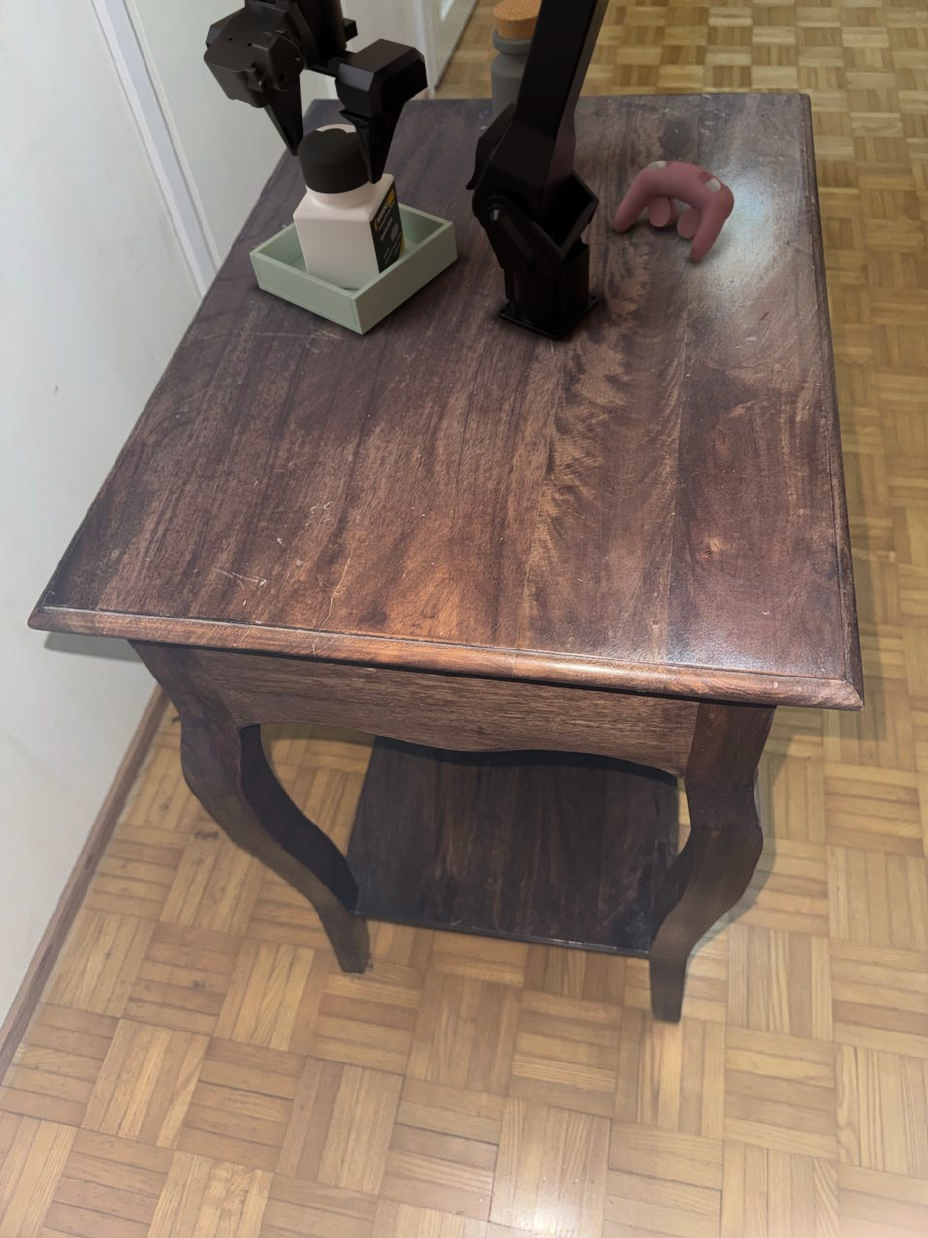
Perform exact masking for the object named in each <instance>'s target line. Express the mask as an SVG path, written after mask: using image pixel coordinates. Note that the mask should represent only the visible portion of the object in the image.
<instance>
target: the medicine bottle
mask: <svg viewBox="0 0 928 1238" xmlns="http://www.w3.org/2000/svg"><path fill="white" fill-rule="evenodd" d="M297 157H298V160H299V164H300V167H301V173H302V175H303V180H304V184H305V189H306V193H305V194H304V196H303V198H302V199H301V201H300V203H299V205H298V206H297V208H296V209H295V211H294V213H292V214H293V220H294V221H293V222H295V225H296V229H297V233H298V236H299V240H300V244H301V248H302V252H303V255H304V259H305V263H306V267H307V271H308V274H310V275H312V276H315V277H317V278H319V279H322V280H324V281H326V282H329V283H331V284H333V285H335V286H338V287H340V288H346V289H361V288H362V287H364V286H365V285H366V284H368V283H369V282H370V281H372V280H373V279H374V278H375V277H377V276H378V275H379V274H381V273H382V272H383V271H385V270H386V269H387V268H388V267H390V266H391V265H392V264H394V263H395V262H396V261H398V260H399V258H400V256H401V254H402V252H403V250H404V248H405V242H404V236H403V230H402V224H401V218H400V212H399V205H398V203H399V199H398V194H397V187H396V181H395V176H394V175H393V174H391V173H383V175H382V178H381V180H380V181H379V182H377V183H376V184H371V183H370V182H369V179H368V176H367V173H366V171H365V167H364V163H363V159H362V155H361V151H360V146H359V142H358V138H357V134H356V130H355V126H354V125H353V124H345V123H334V124H326V125H323V126H321V127H318V128H316V129H314V130H312V131H310V132H309V133H307V134H306V135H305V136H303V139H302V140H301V142H300V144H299V146H298V155H297Z"/></svg>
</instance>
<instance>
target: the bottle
mask: <svg viewBox="0 0 928 1238" xmlns="http://www.w3.org/2000/svg"><path fill="white" fill-rule="evenodd" d="M540 4H541V0H503V1H501V2H499V3H498V4H496V5H495V6H494V7H493V10H492V14H493V18H494V22H495V26H496V27H495V28H494V30H493V31H492V33H491V35H492V46H493V47H494V49H495V50H496V51H498V52H499V53H498V54H497V55H496V56H495V57H494V58H493V59H492V61H491V63H490V83H491V84H490V85H491V99H492V100H491V101H492V113H493V114H492V115H493V117H492V118H493V120H494V119H495V118H496V117H497V116H498V115H499V113H500V112H501V111H502V110H503V109H504V107H505V106H506V105H507V104H508V103H509V102H510V101H511V102H512V103H514V104H515V103H516V99H517V95H518V91H519V87H520V83H521V79H522V75H523V71H524V68H525V64H526V60H527V56H528V52H529V48H530V44H531V40H532V36H533V32H534V28H535V24H536V20H537V16H538V12H539V8H540Z"/></svg>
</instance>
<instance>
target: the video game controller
mask: <svg viewBox="0 0 928 1238" xmlns="http://www.w3.org/2000/svg"><path fill="white" fill-rule="evenodd" d="M675 200H678V201H680V202H682V203H685V204H687V205H689V206H690V207H689V208H687V209H686V210H684V211H683V213H680V214H681V215H680V216H679V217H678V220H677V222H676V223H677V224H676V229H677V232H678V233H679V235H680V236H681V237H683V238H685V239H689V240H690V239H692V241H691V242H690V243H691V244H690V248H689V259H690V261H692V262H693V263H697V262H700V261H701V260H702V259H704V257H706V256H707V255H708V253H709V252H710V251H711V249H712V248H713V246H714V245H715V243H716V242H717V240H718V238H719V236H720V234H721V231H722V229H723V228H724V224H725V222H726V221H727V219H728V218H729V217H730V216H731V214H732V212H733V210H734V206H735V196H734V193H733V192H732V189H731V188H730V187H729V186H728V185H727V184H725V183H723V182H722V181H721V180H720V179H719V177H717V176H716V175H714V173H712V172H711V171H709V170H707V169H705V168H703V167H701V166H699V165H697V164H695V163H690V162H685V161H678V160H658V161H657V160H656V161H654V162H652V161H651V162H650V163H649V164H648V165H647V166H646V167H644V168H643V169H641V171H639V173H638V174H637V175H636V177H635V178H634V180H633V182H632V184H631V185H630V187H629V188H628V190H627V192H626V194H625V195H624V197H623V198H622V200H621V202H620V204H619V205H618V208H617V209H616V212H615V215H614V220H613V227H614V231H616V232H617V233H622V232H624V231H626V230H628V229H629V228H630V227H631V226H632V224H634V223H635V222H636V221H637V219H638V218H639V217H640V215H641V214H642V213H643V212H644V210H645V209H646V207H647V209H648V219H649V222H650V224H651V225H652V226H654V227H657V228H666V227H669V226H671V225H672V224H673V223H674V221H675V219H676V217H677V207H676V203H675Z"/></svg>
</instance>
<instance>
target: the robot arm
mask: <svg viewBox="0 0 928 1238" xmlns="http://www.w3.org/2000/svg"><path fill="white" fill-rule="evenodd" d="M243 3H244V6H243V7H241V8H239V9H238V10H236V11H234V12H232V13H230V14H228V15H226V16H224V17H222V18H221V19H219V20H218V21H216V22H213V23H211V24H210V25H209V27H208V32H207V34H206V35H207V36H206V40H205V43H204V44H205V46H206V51H204V54H203V61H204V63H205V65H206V66H207V68H208V70H209V71H210V73H211V74H212V76H213V78H214V79H215V80H216V82H217V83H218V85H219V87H220V89H221V90H222V91H223V93H224V95H225V96H226V97H227V99H229V100H232V101H235V100H237V101H239V102H243V103H244V104H245V103H246V104H248V105H249V106H251V107H252V108H254V109H263V110H264V111H265V113H266V114H267V116H268V118H269V120H270V121H271V124H273V126H274V128H275V129H276V131H277V133H278V135H279V136H280V138H281V140H282V142H283V144H284V145H285V147H286V148H287V150H288V152H289V153H290V155H291V156H293V157H298V146H299V144H300V142H301V140H302V139H303V138H304V118H303V104H302V103H303V102H302V90H301V87H302V86H301V74H302V73H303V71H309V72H313V73H316V74H320V75H324V76H327V77H330V78H334V82H333V83H334V86H335V87H334V88H335V93H336V97H337V98H338V100H339V101H340V103H341V104H342V105H343V107H344V108H343V109H341V110H339V111H338V114H339V115H340V116H341V117H343V119H346V120H347V121H348V122H350V123H351V125H352V126H355V130H356V134H357V138H358V142H359V146H360V151H361V155H362V159H363V163H364V167H365V171H366V173H367V176H368V179H369V182H370V183H371V184H376V183H377V182H379V181H380V180H381V178H382V175H383V174H384V171H385V169H386V168H385V167H386V164H387V161H388V157H389V154H390V149H391V145H392V142H393V139H394V134H395V132H396V128H397V125H398V122H399V119H400V117H401V115H402V112H403V109H404V106H405V105H406V103H408V102H409V101H410V100H412V99H413V98H414V97H416V96H417V95H418V94H419V93H421V92H423V91H424V90H425V89H428V88H429V82H428V73H427V65H426V58H425V55H424V54H423V53H421V51H420V50H419V49H417V48H416V47H415V46H411V45H407V44H403V43H400V42H397V41H394V40H393V41H392V40H388V39H385V38H378V39H377V40H375V41H373V42H372V43H369V44H368V45H367V46H365V47H364V48H362V49H360V50H359V51H357V52H355V51H351V50H348V49H347V48H348V45H347V42H349V41H351V40H353V39H354V38H356V37H358V36H359V32H358V27H357V21H356V20H355V19H352V18H347V17H344V13H343V7H342V4H341V0H244V1H243ZM609 3H610V0H541V4H540V8H539V12H538V16H537V20H536V24H535V28H534V32H533V36H532V40H531V44H530V48H529V52H528V56H527V60H526V64H525V68H524V71H523V75H522V79H521V83H520V87H519V91H518V95H517V99H516V103H515V104H514V103H512V102H511V101H510V102H509V103H508V104H507V105H506V106H505V107H504V109H503V110H502V111H501V112H500V113H499V115H498V116H497V117H496V118H495V119H494V118H493V120H492V121H491V123H489V125H488V126H487V128H486V129H485V130H484V132H482V134H481V135H480V136H479V137H478V138H477V143H476V147H475V157H474V168H473V169H474V170H473V173H472V176H471V178H470V180H469V182H467V184H466V185H465V190H466V191H473V192H472V196H471V210H472V211H471V212H472V215H473V216H474V218H477V220H478V222H479V224H480V226H481V227H482V228H483V229H484V231H485V234H486V236H487V239H488V241H489V244H490V245H491V248H492V251H493V253H494V256H495V259H496V260H497V263H498V265H499V267H500V269H502V270H503V279H504V280H503V281H504V282H503V283H504V296H505V299H506V300H508V301H507V302H506V303H505V304H503V305H502V306H501V307H500V308H499V309H498V310H497V317H498V319H501V320H503V321H505V322H508V323H511V324H513V325H516V326H518V327H520V328H522V329H525V330H528V331H530V332H532V333H534V334H537V335H539V336H542V337H545V338H546V339H549V340H552V341H559V340H561V339H562V338H563V337H564V336H565V335H567V334H568V332H570V331H571V330H572V329H573V328H574V327H575V326H576V325H577V324H578V323H580V322H581V321H582V319H584V318H585V317H586V316H587V315H588V314H589V313H590V312H592V310H594V309H595V308H596V307H597V306H598V305H599V303H600V296H599V295H597V294H595V293H592V292H590V258H591V257H590V256H591V255H590V254H591V245H590V244H587V243H585V242H583V238H582V237H581V236H582V234H583V233H584V231H585V230H586V228H587V227H588V225H590V224H591V222H592V221H593V219H594V216H595V215H596V211H597V209H598V206H599V204H600V199H599V197H598V196H597V195H596V194H595V193H594V192H593V190H592V189H591V188H590V187H589V186H588V184H587V183H586V182H585V181H584V180H583V178H581V176H580V175H579V174H578V172H576V171H575V169H574V168H573V167H574V161H575V154H576V147H577V138H576V128H575V127H576V126H575V112H576V108H577V105H578V102H579V99H580V95H581V92H582V89H583V86H584V82H585V80H586V76H587V73H588V70H589V67H590V63H591V60H592V57H593V54H594V51H595V47H596V44H597V41H598V38H599V35H600V32H601V28H602V26H603V22H604V19H605V15H606V12H607V10H608V6H609Z"/></svg>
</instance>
